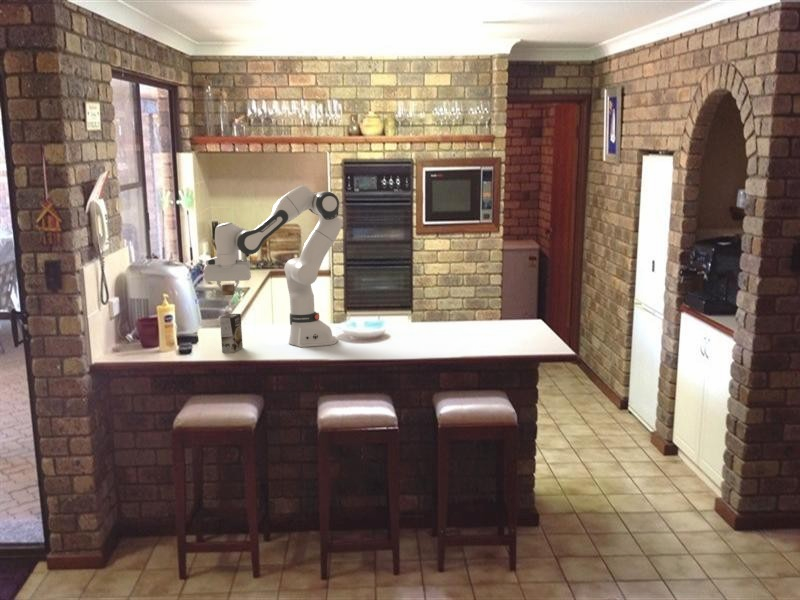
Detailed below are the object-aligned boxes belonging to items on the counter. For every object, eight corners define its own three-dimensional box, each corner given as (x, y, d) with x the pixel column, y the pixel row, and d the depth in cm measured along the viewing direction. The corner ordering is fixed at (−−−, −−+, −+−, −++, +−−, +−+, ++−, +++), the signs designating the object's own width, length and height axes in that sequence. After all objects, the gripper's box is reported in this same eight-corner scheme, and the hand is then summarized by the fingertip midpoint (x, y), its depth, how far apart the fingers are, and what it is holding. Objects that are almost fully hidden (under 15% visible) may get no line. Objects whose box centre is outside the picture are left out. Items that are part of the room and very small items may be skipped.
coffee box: (235, 353, 329) (232, 317, 326) (221, 352, 330) (219, 317, 327) (243, 347, 338) (241, 313, 335) (230, 347, 339) (227, 313, 336)
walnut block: (234, 293, 331) (234, 283, 330) (232, 295, 327) (232, 285, 326) (224, 293, 331) (224, 283, 330) (222, 295, 327) (222, 285, 326)
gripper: (251, 258, 329) (253, 288, 332) (205, 259, 329) (207, 289, 332) (248, 260, 323) (250, 291, 326) (201, 261, 323) (204, 292, 326)
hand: (228, 290), depth 329 cm, fingers closed on walnut block, 4 cm apart
